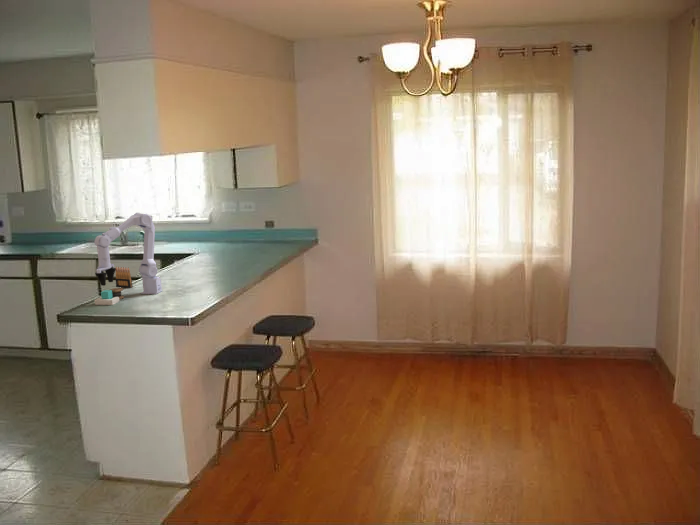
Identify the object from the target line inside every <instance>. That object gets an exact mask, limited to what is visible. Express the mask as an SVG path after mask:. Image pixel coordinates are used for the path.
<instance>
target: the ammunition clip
mask: <svg viewBox="0 0 700 525" xmlns="http://www.w3.org/2000/svg"><path fill="white" fill-rule="evenodd" d="M115 268H116V270H115V288H123V289H133V287H134V286H133V281H132V278H131V275H132V274H131V270H130V268H129V267H124V266H122V267H121V266H120V267H119V266H118V267H117V266H115Z"/></svg>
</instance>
